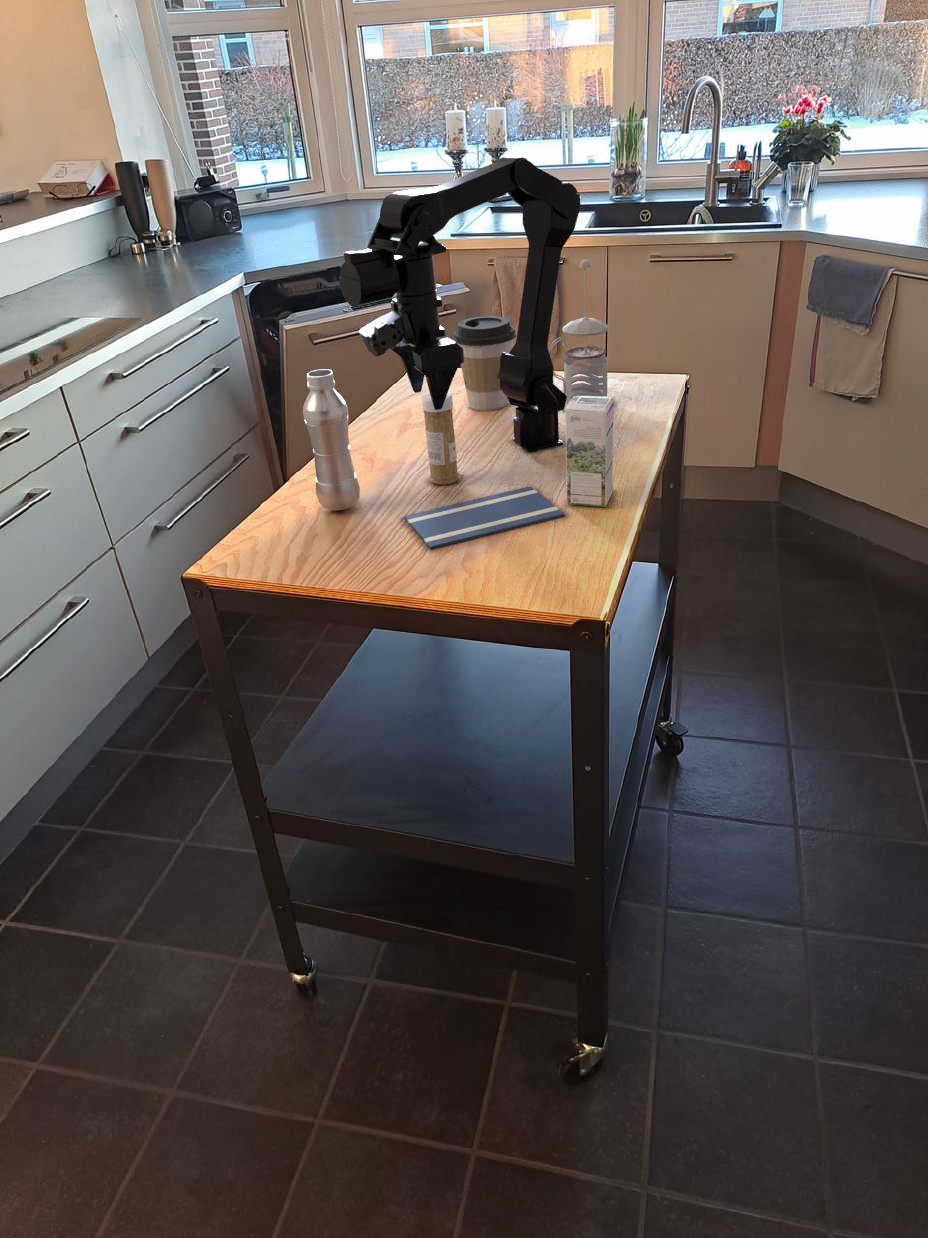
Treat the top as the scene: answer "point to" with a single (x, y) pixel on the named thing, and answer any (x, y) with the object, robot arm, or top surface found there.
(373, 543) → the top surface
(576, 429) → the syrup box
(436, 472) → the sprinkles bottle
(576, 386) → the french press
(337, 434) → the silver water bottle
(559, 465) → the top surface
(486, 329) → the coffee cup
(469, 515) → the tea towel
